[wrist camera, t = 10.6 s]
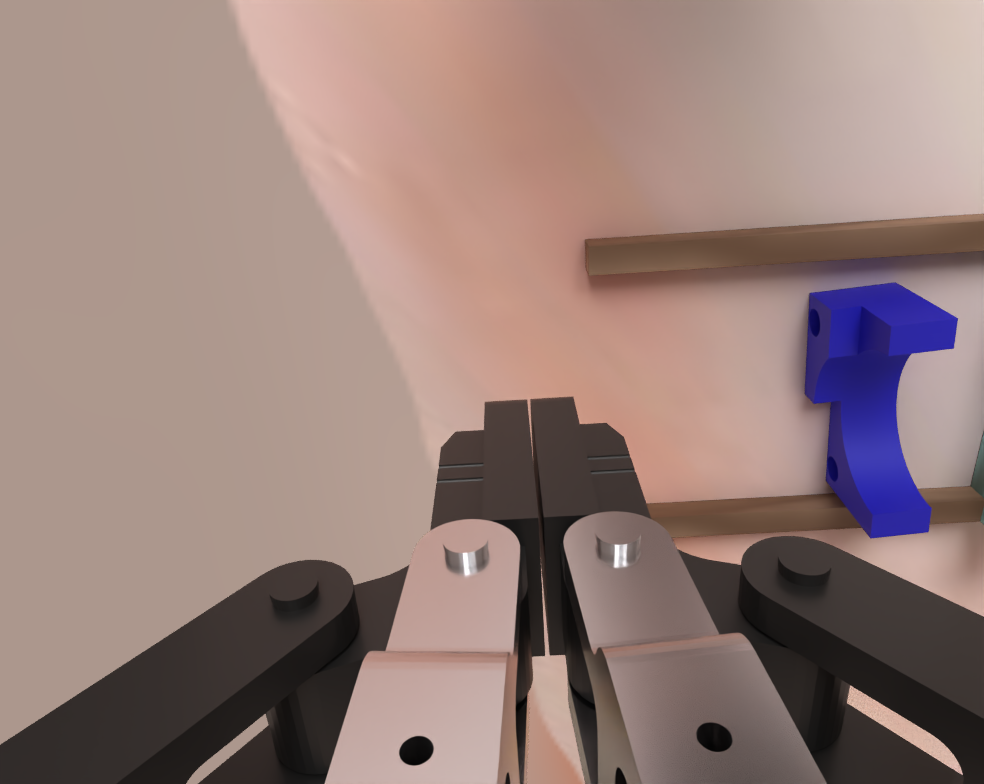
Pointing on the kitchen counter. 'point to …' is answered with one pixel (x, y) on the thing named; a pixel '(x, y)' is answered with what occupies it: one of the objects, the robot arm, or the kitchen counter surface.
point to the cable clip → (871, 396)
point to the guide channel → (779, 248)
